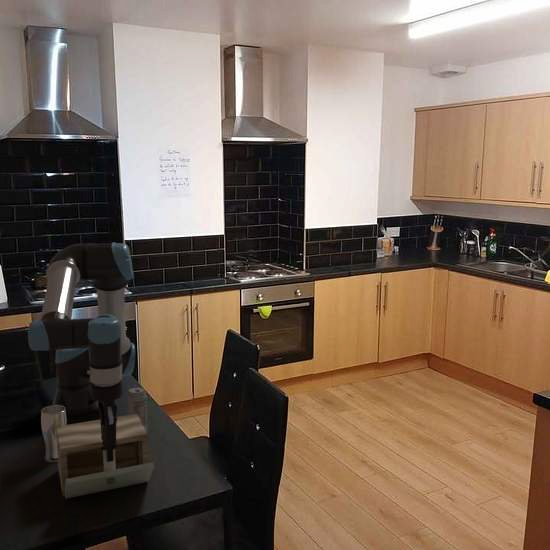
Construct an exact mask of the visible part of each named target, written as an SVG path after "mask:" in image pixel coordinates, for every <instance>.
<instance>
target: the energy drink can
mask: <svg viewBox="0 0 550 550" xmlns="http://www.w3.org/2000/svg"><path fill="white" fill-rule="evenodd" d="M147 401H148V399H147V392H146V391H145V388H144V387H138V386H135V387H132V388H129V389H128V393H127V395H126V403H127V404H126V405H127V406H126V407H127V411H126V412H127V415H133V414H137V415H138V416H139V418H140V420H141V422H142V424H143V426H144V428H145V430H146V432H147V433H148V407H147V406H148V403H147Z"/></svg>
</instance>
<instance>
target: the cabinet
mask: <svg viewBox="0 0 550 550" xmlns="http://www.w3.org/2000/svg"><path fill="white" fill-rule="evenodd" d="M116 417H117V423H116V449H115V465H116V469H120V468H125V467H131V466H136V465H141V464H146V463H149V445H148V444H149V442H148V441H149V439H148V436H149V435H148V431H147V432H146V430H145V428H144V426H143V424H142V422H141V420H140V418H139V416H138V415H137V414H133V415H128V414H126V415H122V416H116ZM56 434H57V451H58V462H57V466H58V467H57V468H58V469H57V470H58V475H59V476H58V477H59V481H60V488H61V494H62V495H61V496H62V497H65V486H66V479H68V478H74V477H79V476H84V475H89V474H94V473H99V472H104V463H103V450H101V447H104V446H103V444H102V442H103V440H102V439H101V423H100V419H96V420H89V421H83V422H77V423H71V424H67V425H63V426H57V427H56Z"/></svg>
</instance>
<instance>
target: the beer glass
mask: <svg viewBox="0 0 550 550" xmlns="http://www.w3.org/2000/svg"><path fill="white" fill-rule="evenodd" d="M40 412H41V415H40V426H41V432H42V436H43V441H44V444H45V455H44V461H46V462H48V463H51V464H52V463H58V451H57V434H56V427H57V426H63V425H68V420H67V419H68V418H67V417H68V416H67V415H66V410H65V407H64V406H62V405H53V404H52V405H47V406H45V407H43V408H41V411H40Z"/></svg>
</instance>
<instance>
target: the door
mask: <svg viewBox="0 0 550 550" xmlns="http://www.w3.org/2000/svg"><path fill="white" fill-rule="evenodd" d="M154 469H155V463H154V462H152V461H151V462H148V463H146V464H141V465H136V466H131V467H125V468H120V469H115V470H110V471H105V472H99V473H94V474H89V475H84V476H79V477H74V478H68V479H66V486H65V496H64V499H71V498H76V497H80V496H84V495H91V494H96V493H101V492H104V491H105V492H106V491H109V490H115V489H118V488H119V489H120V488H124V487H125V488H126V487H128V486H134V485H139V484H145V483H149V481H150V478H151V476H152V473H153V471H154Z"/></svg>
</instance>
